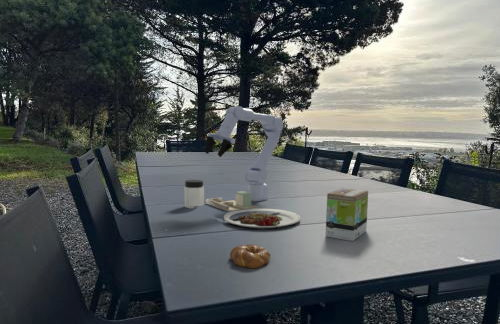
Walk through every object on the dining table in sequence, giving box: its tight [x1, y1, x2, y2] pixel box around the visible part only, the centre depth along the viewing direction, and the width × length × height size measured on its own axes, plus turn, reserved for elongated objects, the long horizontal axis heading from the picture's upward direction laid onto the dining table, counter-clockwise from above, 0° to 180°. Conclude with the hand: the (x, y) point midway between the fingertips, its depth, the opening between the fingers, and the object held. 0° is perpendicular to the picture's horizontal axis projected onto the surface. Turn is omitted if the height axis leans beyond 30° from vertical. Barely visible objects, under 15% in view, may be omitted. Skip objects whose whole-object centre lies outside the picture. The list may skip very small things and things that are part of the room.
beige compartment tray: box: [205, 197, 257, 212], centre depth 170 cm, size 16×20×3 cm
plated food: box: [223, 208, 301, 229], centre depth 145 cm, size 30×30×3 cm
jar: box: [183, 179, 205, 209], centre depth 171 cm, size 9×8×12 cm
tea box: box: [325, 187, 369, 242], centre depth 126 cm, size 15×10×15 cm, turn 148°
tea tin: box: [235, 190, 252, 207], centre depth 168 cm, size 4×7×6 cm, turn 32°
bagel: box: [229, 243, 271, 269], centre depth 100 cm, size 12×11×4 cm
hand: (212, 154), depth 164 cm, fingers open, 7 cm apart
